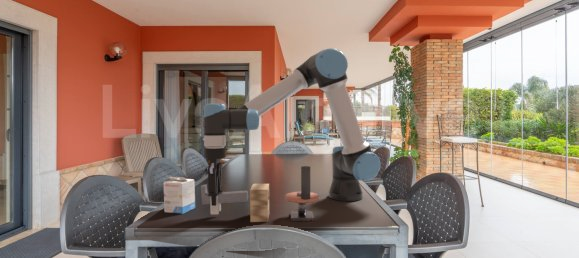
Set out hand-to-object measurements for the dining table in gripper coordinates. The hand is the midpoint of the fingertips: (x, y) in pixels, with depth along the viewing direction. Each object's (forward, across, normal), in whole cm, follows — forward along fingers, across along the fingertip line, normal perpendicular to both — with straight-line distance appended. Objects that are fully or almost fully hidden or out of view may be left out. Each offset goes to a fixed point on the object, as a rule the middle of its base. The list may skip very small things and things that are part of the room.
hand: (215, 212), depth 116 cm
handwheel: (-5, 0, +31) cm, 31 cm away
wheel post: (+2, 0, +31) cm, 31 cm away
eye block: (+2, 0, +16) cm, 16 cm away
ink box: (+2, -10, -16) cm, 19 cm away
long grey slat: (-4, 0, +4) cm, 5 cm away
